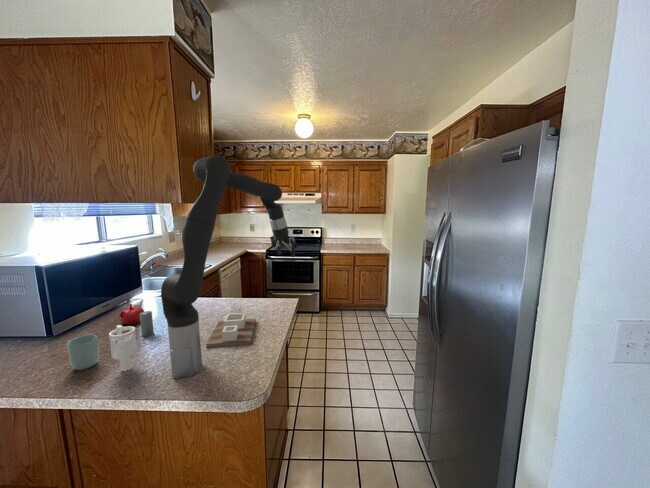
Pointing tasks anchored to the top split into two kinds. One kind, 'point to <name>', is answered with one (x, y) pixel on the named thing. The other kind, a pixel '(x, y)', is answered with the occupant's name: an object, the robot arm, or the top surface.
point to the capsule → (146, 324)
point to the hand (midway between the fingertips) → (286, 255)
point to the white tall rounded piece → (123, 346)
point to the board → (242, 339)
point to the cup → (83, 351)
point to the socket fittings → (233, 326)
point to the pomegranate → (130, 315)
